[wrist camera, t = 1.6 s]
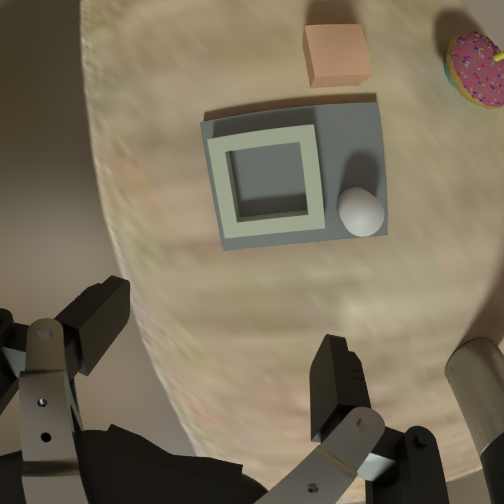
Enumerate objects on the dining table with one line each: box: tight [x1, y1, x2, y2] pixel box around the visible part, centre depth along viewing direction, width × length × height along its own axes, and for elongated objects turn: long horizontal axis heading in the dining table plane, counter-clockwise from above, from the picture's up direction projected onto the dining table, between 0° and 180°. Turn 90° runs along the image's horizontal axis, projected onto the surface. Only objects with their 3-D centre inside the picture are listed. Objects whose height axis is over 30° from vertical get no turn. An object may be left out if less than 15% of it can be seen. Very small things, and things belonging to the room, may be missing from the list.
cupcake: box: [445, 31, 504, 109], centre depth 17 cm, size 9×8×12 cm
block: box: [302, 24, 372, 88], centre depth 23 cm, size 5×5×6 cm
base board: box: [200, 102, 387, 251], centre depth 28 cm, size 18×14×5 cm
